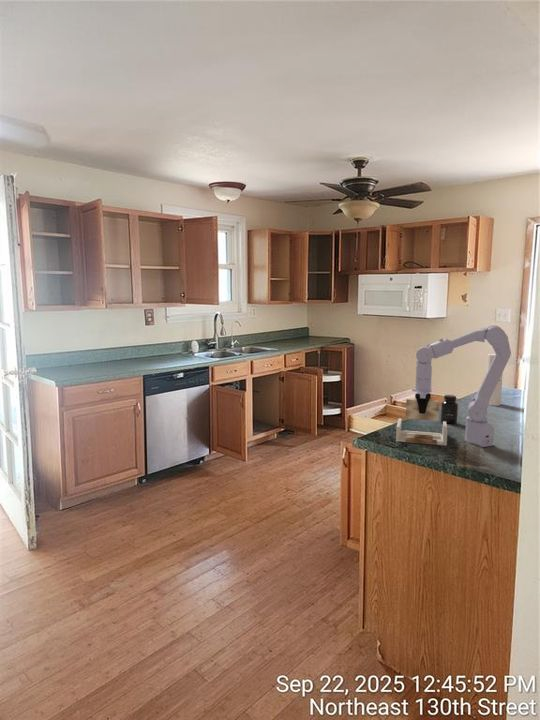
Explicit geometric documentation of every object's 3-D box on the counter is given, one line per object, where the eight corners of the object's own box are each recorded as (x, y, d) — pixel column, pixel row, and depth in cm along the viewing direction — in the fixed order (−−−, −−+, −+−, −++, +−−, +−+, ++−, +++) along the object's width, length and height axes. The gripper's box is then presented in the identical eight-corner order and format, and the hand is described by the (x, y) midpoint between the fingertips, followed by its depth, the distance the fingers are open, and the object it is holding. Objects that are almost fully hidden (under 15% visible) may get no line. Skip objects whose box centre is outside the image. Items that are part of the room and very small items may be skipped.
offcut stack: (436, 441, 179) (436, 435, 178) (436, 444, 176) (437, 438, 175) (406, 439, 182) (406, 433, 182) (405, 441, 179) (405, 435, 179)
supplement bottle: (446, 425, 202) (448, 398, 200) (437, 421, 209) (438, 394, 207) (460, 424, 204) (462, 397, 202) (450, 420, 210) (451, 393, 209)
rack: (445, 436, 188) (446, 421, 187) (446, 447, 174) (447, 431, 174) (398, 432, 193) (398, 418, 192) (395, 442, 180) (396, 427, 179)
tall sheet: (438, 419, 184) (439, 400, 183) (438, 420, 183) (439, 401, 182) (406, 417, 188) (406, 398, 187) (405, 418, 186) (406, 399, 185)
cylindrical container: (481, 403, 242) (484, 354, 238) (491, 401, 245) (494, 353, 241) (493, 406, 235) (496, 355, 232) (503, 404, 238) (506, 354, 235)
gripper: (413, 374, 191) (412, 407, 193) (412, 381, 178) (410, 416, 179) (431, 375, 189) (430, 408, 191) (432, 382, 175) (430, 418, 177)
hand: (422, 412), depth 185 cm, fingers closed on tall sheet, 2 cm apart
